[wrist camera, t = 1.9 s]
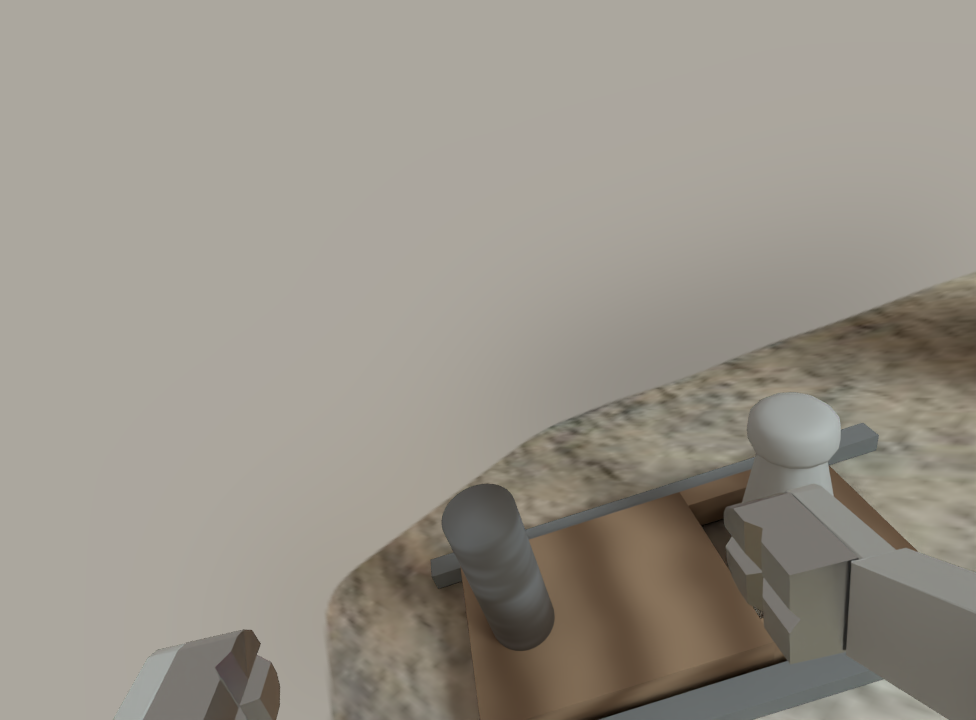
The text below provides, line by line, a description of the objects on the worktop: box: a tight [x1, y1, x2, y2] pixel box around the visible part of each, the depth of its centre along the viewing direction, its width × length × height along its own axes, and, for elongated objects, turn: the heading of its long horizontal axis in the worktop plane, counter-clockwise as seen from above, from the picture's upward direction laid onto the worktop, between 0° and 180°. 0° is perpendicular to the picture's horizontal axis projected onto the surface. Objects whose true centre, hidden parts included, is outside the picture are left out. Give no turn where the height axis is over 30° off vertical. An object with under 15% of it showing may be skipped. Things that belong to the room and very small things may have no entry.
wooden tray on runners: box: [442, 465, 918, 720], centre depth 31 cm, size 26×11×12 cm, turn 99°
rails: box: [431, 423, 883, 720], centre depth 34 cm, size 34×15×2 cm, turn 99°
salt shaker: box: [742, 392, 841, 503], centre depth 31 cm, size 6×6×13 cm
